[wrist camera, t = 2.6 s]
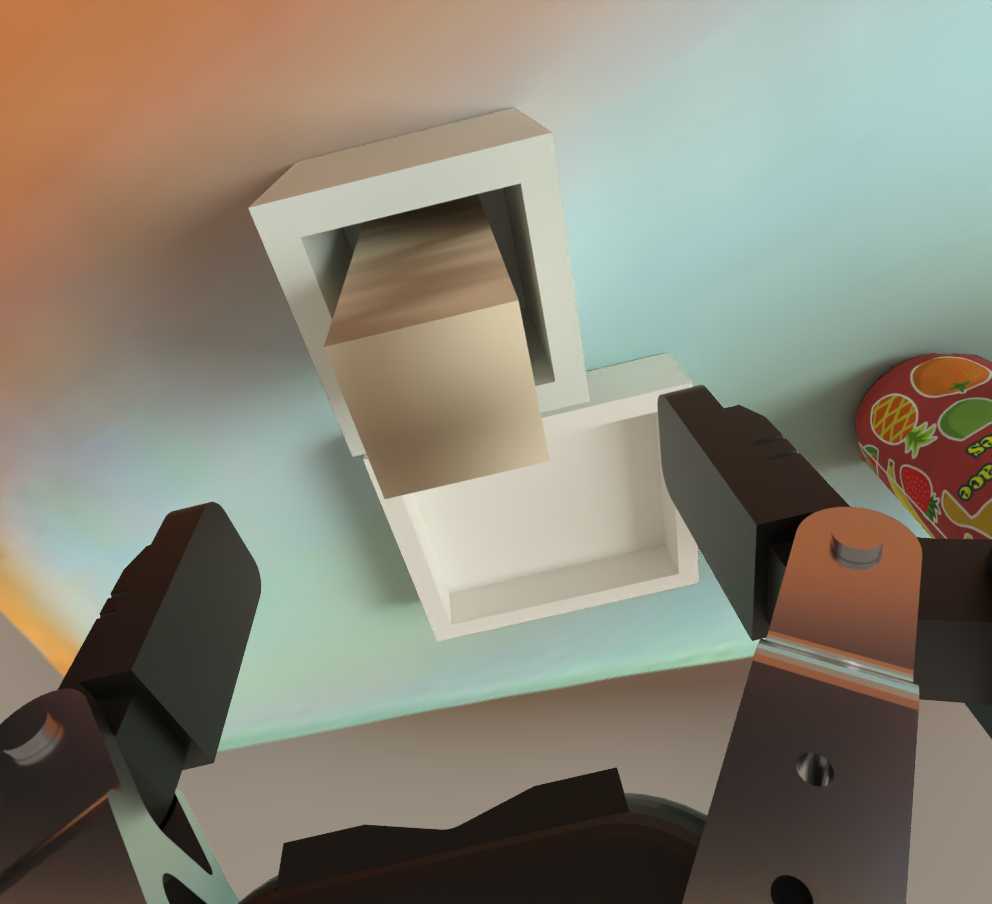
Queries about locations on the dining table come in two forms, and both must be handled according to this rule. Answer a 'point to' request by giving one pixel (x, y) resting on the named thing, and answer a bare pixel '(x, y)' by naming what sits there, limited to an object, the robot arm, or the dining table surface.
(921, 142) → the dining table surface
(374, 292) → the birch peg
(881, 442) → the smoothie
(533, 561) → the plastic tray
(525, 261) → the white open box
